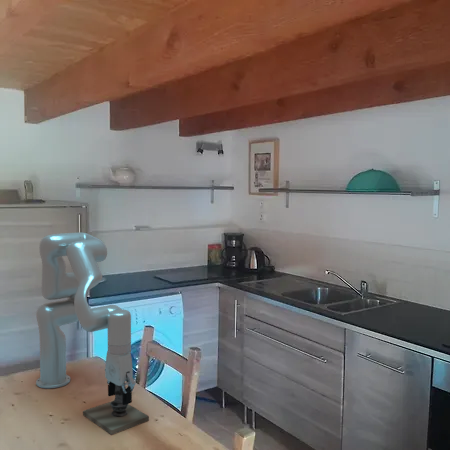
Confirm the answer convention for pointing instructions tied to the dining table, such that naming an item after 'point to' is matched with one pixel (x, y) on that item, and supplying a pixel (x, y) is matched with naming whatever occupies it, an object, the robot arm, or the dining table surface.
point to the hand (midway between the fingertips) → (119, 399)
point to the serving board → (115, 418)
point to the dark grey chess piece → (118, 403)
